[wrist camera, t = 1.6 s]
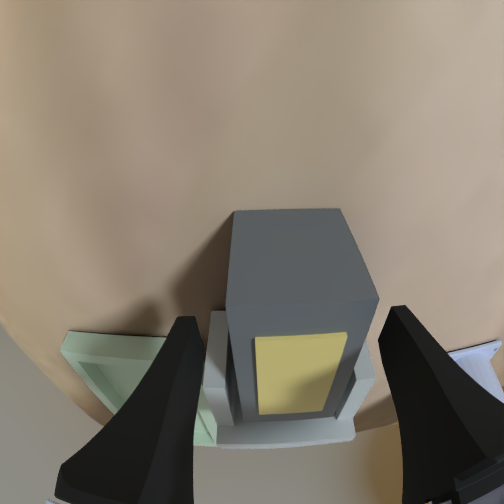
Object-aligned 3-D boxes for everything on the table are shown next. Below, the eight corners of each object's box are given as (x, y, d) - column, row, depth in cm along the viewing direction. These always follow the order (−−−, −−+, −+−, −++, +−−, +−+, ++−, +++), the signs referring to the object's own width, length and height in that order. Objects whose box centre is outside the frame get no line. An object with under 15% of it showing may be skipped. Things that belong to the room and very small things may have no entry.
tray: (226, 431, 28) (226, 446, 27) (141, 425, 29) (138, 439, 27) (197, 338, 18) (194, 362, 17) (68, 331, 18) (59, 350, 17)
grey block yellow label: (319, 337, 18) (332, 420, 14) (245, 340, 19) (244, 425, 14) (339, 208, 13) (381, 303, 9) (234, 210, 13) (225, 310, 9)
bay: (337, 362, 20) (352, 440, 15) (223, 368, 20) (218, 448, 16) (355, 304, 17) (381, 399, 12) (211, 310, 17) (200, 410, 12)
